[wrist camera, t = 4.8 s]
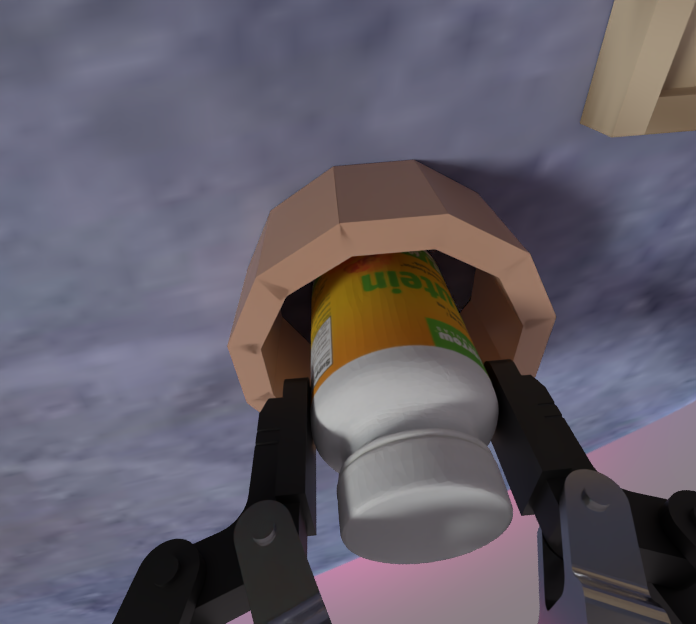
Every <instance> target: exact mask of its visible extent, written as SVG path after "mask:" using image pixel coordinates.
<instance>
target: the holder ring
mask: <svg viewBox="0 0 696 624" xmlns="http://www.w3.org/2000/svg"><path fill="white" fill-rule="evenodd" d="M432 249H436V250H438V251H440V252H443V253H445V254H447V255H449V256H452V257H454V258H456V259H458V260H461V261H463V262H465V263H467V264H470V265H472V266H474V267H476V271H475V277H474V283H473V289H472V295H471V300H470V301H469V303H468V304H467V305H466V306H465V307H464V309H463V310H462V311H461V312H460V313H459V314H460V316H461V318H462V320H463V322H464V324H465V327H466V329H467V331H468V333H469V335H470V338H471V340H472V342H473V344H474V346H475V348H476V350H477V352H478V355H479V357H480V359H481V361H482V363H483V364H484V362H485V361H492V360H503V359H511V360H512V361H513V362H514V363H515V365H516V367H517V368H518V370H519V372H520V374H521V375H532V376H533V377H534V378H535V376H536V374H537V371H538V368H539V365H540V362H541V359H542V356H543V353H544V351H545V348H546V345H547V342H548V339H549V336H550V333H551V330H552V328H553V325H554V322H555V319H556V315H555V313H554V310H553V308H552V305H551V303H550V301H549V298H548V296H547V293H546V291H545V289H544V286H543V284H542V281H541V279H540V277H539V274H538V272H537V269H536V267H535V264H534V262H533V260H532V257H531V255H530V253H529V252H528V251H527V250H526V249H525V247H524V246H523V245H522V244H521V243H520V242H519V240H518V239H517V238H516V237H515V236H514V235H513V234H512V232H511V231H510V230H509V229H508V228H507V227H506V225H505V224H504V223H503V222H502V221H501V220H500V218H499V217H498V216H497V215H496V214H495V213H494V211H493V210H492V209H491V208H490V207H489V206H488V205H487V203H486V202H485V201H484V200H483V199H482V198H481V196H480V195H479V194H478V193H476V192H475V191H473V190H471V189H469V188H467V187H465V186H463V185H461V184H459V183H457V182H456V181H454V180H452V179H450V178H448V177H446V176H444V175H442V174H440V173H438V172H436V171H435V170H433V169H431V168H429V167H427V166H425V165H423V164H421V163H419V162H417V161H416V160H405V161H393V162H381V163H369V164H357V165H345V166H334V167H332V168H330V169H329V170H328V171H326V172H325V173H323V174H322V175H321V176H319V177H318V178H316V179H315V180H313V181H312V182H311V183H309V184H308V185H306V186H305V187H304V188H302V189H301V190H299V191H298V192H296V193H295V194H294V195H292V196H291V197H289V198H288V199H286V200H285V201H284V202H282V203H281V204H279V205H278V206H277V207H275V208H274V209H272V210H271V211H270V214H269V216H268V219H267V221H266V224H265V226H264V229H263V231H262V234H261V236H260V239H259V241H258V244H257V246H256V249H255V251H254V254H253V257H252V259H251V262H250V264H249V267H248V269H247V273H246V276H245V280H244V284H243V288H242V292H241V296H240V299H239V303H238V307H237V311H236V315H235V319H234V322H233V326H232V330H231V334H230V338H229V341H228V345H227V346H228V349H229V352H230V355H231V358H232V361H233V364H234V367H235V370H236V372H237V375H238V378H239V381H240V384H241V387H242V390H243V393H244V396H245V398H246V401H247V403H248V404H249V405H251V406H252V407H253V408H255V409H256V410H257V411H259V412H261V410H262V408H263V406H264V405H265V403H266V401H267V400H268V399H269V398H280V397H282V396H283V384H284V380H285V379H293V378H303V377H308V378H309V382H310V387H311V344H310V343H309V342H308V341H307V340H305V339H304V338H303V337H302V336H301V335H300V334H299V333H298V332H297V331H296V330H295V329H294V328H293V327H292V326H291V325H290V324H289V323H288V322H287V321H286V320H285V319H284V318H283V317H282V314H281V309H280V308H281V306H282V304H283V302H284V300H285V298H286V296H288V295H290V294H291V293H293V292H294V291H296V290H298V289H299V288H301V287H303V286H304V285H306V284H308V283H309V282H311V281H312V280H314V279H316V278H317V277H319V276H321V275H322V274H324V273H326V272H327V271H329V270H331V269H332V268H334V267H335V266H337V265H339V264H340V263H342V262H344V261H345V260H347V259H349V258H350V257H352V256H362V255H374V254H385V253H397V252H408V251H420V250H432Z"/></svg>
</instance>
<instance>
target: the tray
mask: <svg viewBox="0 0 696 624" xmlns="http://www.w3.org/2000/svg"><path fill="white" fill-rule="evenodd" d="M580 124H583V125H585V126H587V127H589V128H592V129H594V130H596V131H598V132H601V133H603V134H605V135H607V136H610V137H622V136H634V135H646V134H658V133H670V132H682V131H694V130H696V0H615V1H614V4H613V8H612V11H611V15H610V18H609V22H608V26H607V29H606V33H605V36H604V40H603V43H602V47H601V50H600V54H599V57H598V61H597V64H596V68H595V71H594V75H593V78H592V82H591V85H590V89H589V93H588V96H587V100H586V103H585V107H584V110H583V114H582V117H581V121H580Z"/></svg>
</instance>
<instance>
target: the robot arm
mask: <svg viewBox="0 0 696 624" xmlns="http://www.w3.org/2000/svg"><path fill="white" fill-rule="evenodd" d="M483 365H484V367H485V369H486V371H487V374H488V376H489V378H490V380H491V383H492V386H493V388H494V391H495V393H496V397H497V400H498V406H499V415H498V421H497V426H496V429H495V432H494V435H493V437H492V439H491V442H492V444H493V447H494V449H495V452H496V454H497V457H498V459H499V462H500V464H501V466H502V469H503V471H504V474H505V476H506V479H507V481H508V484H509V486H510V489H511V491H512V494H513V496H514V499H515V501H516V503H517V506H518V509H519V511H520V513H521V516H524V515H534V514H535V516H536V518H537V521H538V523H539V528H538V532H537V543H538V572H539V602H540V611H539V620H538V624H696V492H695V491H689V490H682V491H678V492H676V493H674V494H673V495H672V496H671V497H670V498H669V499H668V500H667V499H663V498H658V497H653V496H649V495H643V494H639V493H635V492H631V491H627V490H624V489H622V488H620V487H619V485H617V484H616V483H615V482H614V481H613V480H612V479H610V478H608V477H607V476H605V475H603V474H601V473H599V472H597V470H596V469H595V468H594V467H593V465H592V464H591V462H590V461H589V459H588V457H587V456H586V454H585V452H584V451H583V449H582V447H581V446H580V444H579V442H578V441H577V439H576V437H575V436H574V434H573V432H572V431H571V429H570V427H569V426H568V424H567V422H566V421H565V419H564V418H562V414H561V412H560V411H559V409H558V407H557V406H556V405H555V404H554V401H553V399H552V397H551V396H550V394H549V392H548V391H547V389H546V387H545V386H543V385H542V384H541V383H540V382H539V381H538V380H536V379H535V378H534V377H533V376H532V375H521V374H520V372H519V370H518V368H517V367H516V365H515V363H514V362H513V361H512V360H511V359H503V360H492V361H485V362H484V364H483ZM310 394H311V387H310V382H309V378H308V377H303V378H293V379H285V380H284V384H283V396H282V397H280V398H269V399H268V400H267V401H266V403H265V405H264V406H263V408H262V410H261V412H260V413H259V420H258V428H257V435H256V446H255V450H254V458H253V465H252V473H251V481H250V488H249V496H248V500H247V503H246V506H245V508H244V510H243V512H242V513H241V515H240V516H239V517H238V519H237V520H236V521H235V522H234V523H233V524H231V525H230V526H229V527H228V528H226V529H224V530H223V531H221V532H219V533H216V534H214V535H212V536H210V537H208V538H205V539H203V540H201V541H199V542H197V543H194V544H192V543H191V542H189V541H187V540H184V539H172V540H169V541H166V542H164V543H162V544H160V545H159V546H157V547H156V548H155V549H153V550H152V551H151V552H150V553H149V554H148V555H147V556H146V558H145V559H144V560H143V562H142V563H141V565H140V567H139V569H138V571H137V573H136V575H135V577H134V579H133V581H132V583H131V586H130V588H129V590H128V592H127V594H126V596H125V598H124V600H123V602H122V604H121V606H120V609H119V611H118V613H117V615H116V617H115V619H114V621H113V623H112V624H226V623H227V622H229V621H231V620H233V619H235V618H237V617H239V616H241V615H243V614H245V613H247V612H248V611H250V610H251V614H252V618H253V622H254V624H332V623H331V620H330V618H329V615H328V613H327V610H326V607H325V605H324V602H323V600H322V597H321V595H320V592H319V589H318V587H317V584H316V581H315V579H314V576H313V573H312V571H311V568H310V565H309V562H308V560H307V536H313V535H316V446H315V444H314V441H313V438H312V433H311V420H310Z"/></svg>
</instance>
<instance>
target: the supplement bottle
mask: <svg viewBox="0 0 696 624" xmlns="http://www.w3.org/2000/svg"><path fill="white" fill-rule="evenodd" d="M498 415H499V406H498V400H497V397H496V393H495V391H494V388H493V386H492V383H491V380H490V378H489V376H488V374H487V371H486V369H485V367H484V365H483V363H482V361H481V359H480V357H479V355H478V352H477V350H476V348H475V346H474V344H473V342H472V340H471V338H470V335H469V333H468V331H467V329H466V327H465V324H464V322H463V320H462V318H461V316H460V314H459V312H458V309H457V307H456V305H455V303H454V301H453V299H452V297H451V294H450V292H449V290H448V288H447V286H446V283H445V281H444V279H443V277H442V274H441V272H440V270H439V268H438V267H437V265H436V263H435V261H434V259H433V258H432V257H431V255H430V254H429V253H428V252H427V251H426V250H420V251H408V252H397V253H385V254H374V255H362V256H352V257H350V258H349V259H347V260H345V261H344V262H342V263H340V264H339V265H337V266H335V267H334V268H332V269H331V270H329V271H327V272H326V273H324V274H322V275H321V276H319V277H317V278H316V279H314V283H313V287H312V299H311V394H310V420H311V433H312V438H313V441H314V444H315V446H316V448H317V451H318V452H319V454H320V456H321V457H322V458H323V460H324V461H325V462H326V463H327V464H328V465H329V466H330V467H331V468H333V469H334V470H335V471H336V472H338V473H339V479H338V485H337V499H338V511H339V524H340V534H341V538H342V541H343V543H344V544H345V545H346V547H347V548H348V549H349V550H350V551H351V552H353V553H355V554H356V555H358V556H360V557H362V558H365V559H369V560H373V561H378V562H383V563H390V564H420V563H429V562H435V561H440V560H446V559H450V558H454V557H457V556H461V555H464V554H467V553H470V552H472V551H474V550H476V549H478V548H481V547H483V546H485V545H487V544H488V543H490V542H491V541H493V540H495V539H496V538H498V537H499V536H500V535H501V534H502V533H503V532H504V531H505V530H506V529H507V528H508V526H509V525H510V523H511V521H512V517H513V508H512V504H511V501H510V498H509V495H508V492H507V489H506V487H505V484H504V481H503V478H502V476H501V473H500V470H499V468H498V465H497V463H496V461H495V460H494V458H493V456H492V453H491V451H490V449H489V448H488V447H487V446H488V444H489V443H490V441H491V439H492V437H493V435H494V432H495V429H496V426H497V421H498Z"/></svg>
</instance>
